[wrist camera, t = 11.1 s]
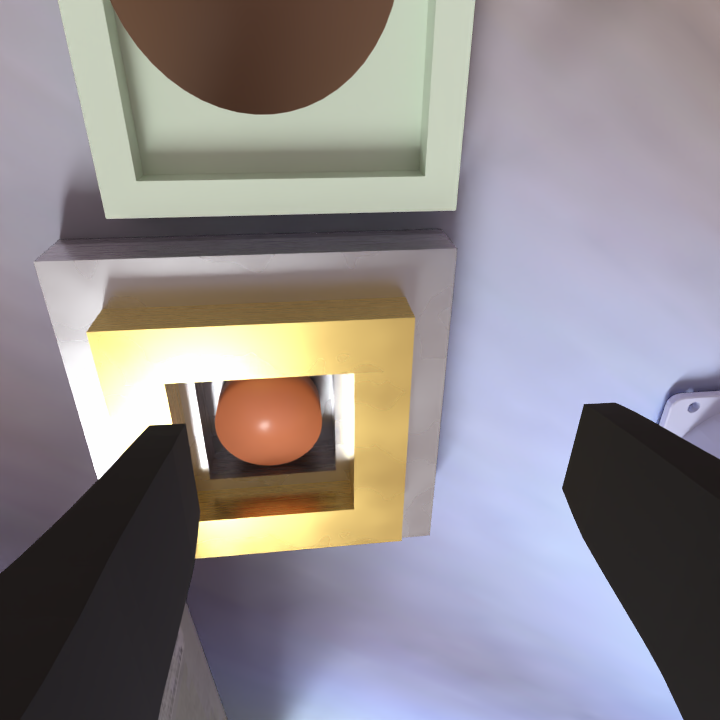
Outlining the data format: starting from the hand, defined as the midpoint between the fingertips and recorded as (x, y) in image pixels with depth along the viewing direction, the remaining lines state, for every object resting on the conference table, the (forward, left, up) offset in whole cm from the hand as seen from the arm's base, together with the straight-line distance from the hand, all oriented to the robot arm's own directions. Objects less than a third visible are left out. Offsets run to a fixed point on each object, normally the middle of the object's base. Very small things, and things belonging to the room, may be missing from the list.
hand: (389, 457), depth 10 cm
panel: (+3, +5, -10) cm, 11 cm away
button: (+3, +5, -9) cm, 10 cm away
